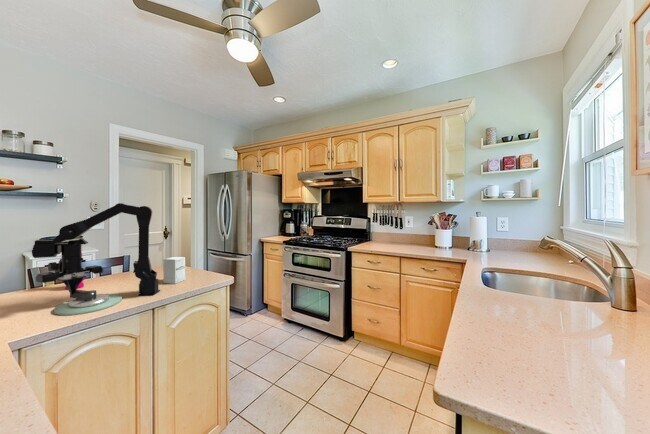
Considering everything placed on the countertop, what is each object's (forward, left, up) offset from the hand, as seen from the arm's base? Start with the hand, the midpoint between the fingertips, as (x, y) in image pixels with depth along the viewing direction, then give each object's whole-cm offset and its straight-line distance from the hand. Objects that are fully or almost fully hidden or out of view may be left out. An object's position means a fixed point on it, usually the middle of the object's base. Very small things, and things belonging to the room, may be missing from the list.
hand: (72, 294), depth 103 cm
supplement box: (-26, -29, -4) cm, 39 cm away
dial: (-5, 0, -3) cm, 6 cm away
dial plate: (-7, +1, -4) cm, 8 cm away
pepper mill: (+17, -23, -4) cm, 29 cm away
